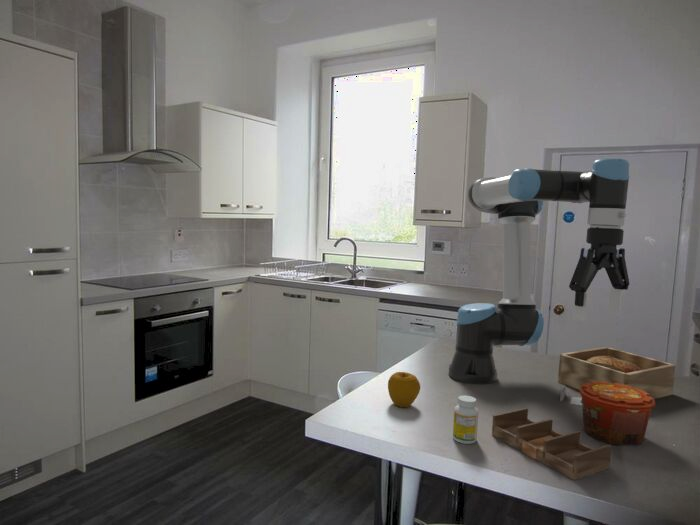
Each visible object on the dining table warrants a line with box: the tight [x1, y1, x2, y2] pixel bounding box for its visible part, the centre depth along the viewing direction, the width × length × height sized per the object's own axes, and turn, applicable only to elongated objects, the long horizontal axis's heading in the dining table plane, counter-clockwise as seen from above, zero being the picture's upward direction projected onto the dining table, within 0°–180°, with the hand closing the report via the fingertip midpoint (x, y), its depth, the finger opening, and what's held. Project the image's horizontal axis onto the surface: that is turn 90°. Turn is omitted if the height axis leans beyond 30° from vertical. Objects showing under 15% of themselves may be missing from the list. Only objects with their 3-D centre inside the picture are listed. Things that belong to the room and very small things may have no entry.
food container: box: [578, 381, 656, 447], centre depth 118 cm, size 16×16×11 cm
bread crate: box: [557, 346, 676, 400], centre depth 152 cm, size 22×24×9 cm
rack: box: [491, 407, 612, 481], centre depth 108 cm, size 22×11×5 cm, turn 29°
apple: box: [387, 371, 421, 408], centre depth 132 cm, size 9×8×9 cm
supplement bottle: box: [452, 395, 479, 445], centre depth 112 cm, size 5×5×10 cm
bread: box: [587, 356, 642, 373], centre depth 152 cm, size 20×18×10 cm
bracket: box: [559, 384, 582, 407], centre depth 139 cm, size 7×10×4 cm, turn 57°
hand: (597, 318), depth 115 cm, fingers open, 13 cm apart
